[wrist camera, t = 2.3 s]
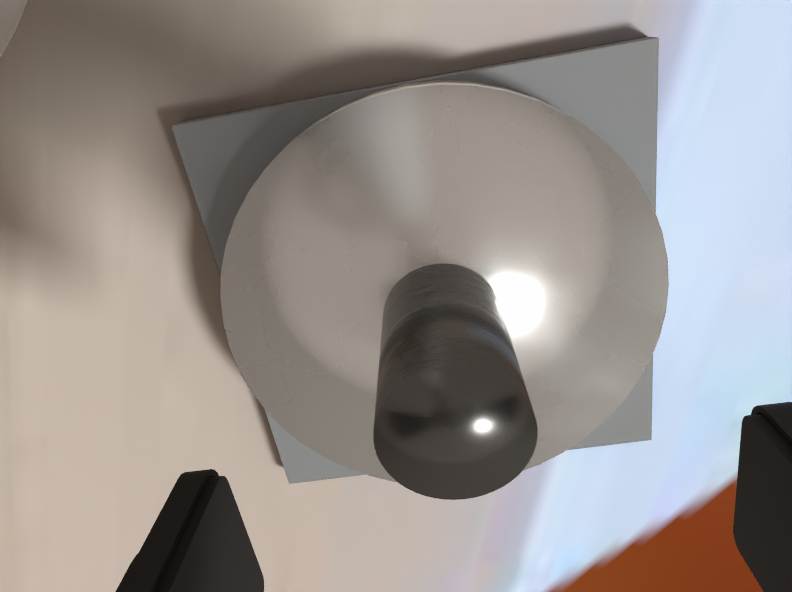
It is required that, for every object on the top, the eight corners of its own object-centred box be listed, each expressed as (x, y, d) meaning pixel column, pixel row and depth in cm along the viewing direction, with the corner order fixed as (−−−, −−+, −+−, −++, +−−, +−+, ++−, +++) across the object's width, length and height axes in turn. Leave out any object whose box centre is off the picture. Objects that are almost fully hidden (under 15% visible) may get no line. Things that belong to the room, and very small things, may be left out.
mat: (179, 122, 15) (170, 126, 15) (648, 36, 14) (658, 37, 14) (292, 471, 21) (289, 483, 20) (644, 427, 19) (651, 439, 19)
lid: (171, 125, 15) (36, 191, 9) (659, 38, 14) (820, 55, 8) (289, 482, 20) (245, 657, 15) (650, 439, 19) (747, 611, 14)
